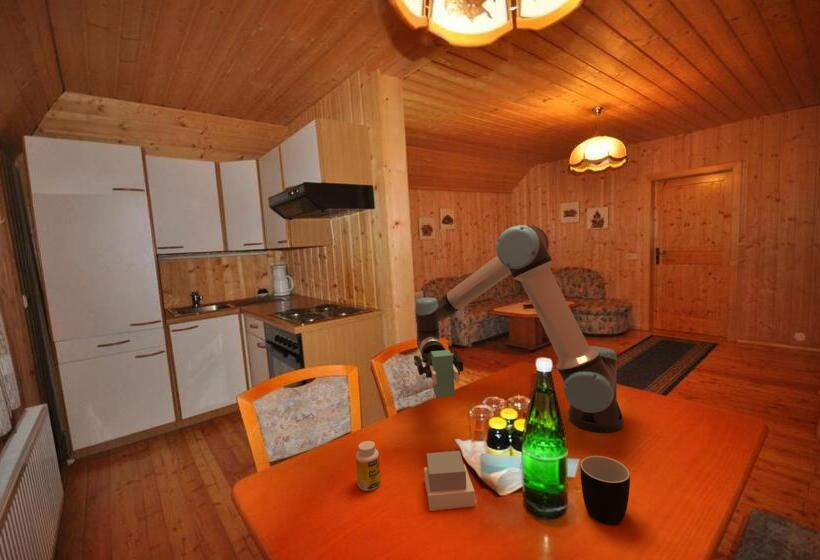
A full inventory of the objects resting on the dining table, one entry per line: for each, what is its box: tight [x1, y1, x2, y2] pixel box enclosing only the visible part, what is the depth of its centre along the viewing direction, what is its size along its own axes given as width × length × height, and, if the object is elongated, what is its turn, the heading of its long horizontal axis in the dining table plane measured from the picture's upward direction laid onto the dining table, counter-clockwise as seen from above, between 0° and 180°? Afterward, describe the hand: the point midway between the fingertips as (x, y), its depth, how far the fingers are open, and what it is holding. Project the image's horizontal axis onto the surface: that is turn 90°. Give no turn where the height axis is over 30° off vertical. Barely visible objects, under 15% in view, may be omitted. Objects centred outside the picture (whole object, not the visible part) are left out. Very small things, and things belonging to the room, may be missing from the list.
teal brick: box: [431, 349, 456, 398], centre depth 99 cm, size 5×5×11 cm
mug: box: [579, 455, 631, 526], centre depth 77 cm, size 12×9×10 cm
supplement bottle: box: [355, 440, 381, 492], centre depth 89 cm, size 6×6×10 cm
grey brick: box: [426, 450, 467, 491], centre depth 85 cm, size 8×8×4 cm
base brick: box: [423, 463, 476, 512], centre depth 85 cm, size 10×10×4 cm
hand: (446, 378), depth 94 cm, fingers closed on teal brick, 5 cm apart
